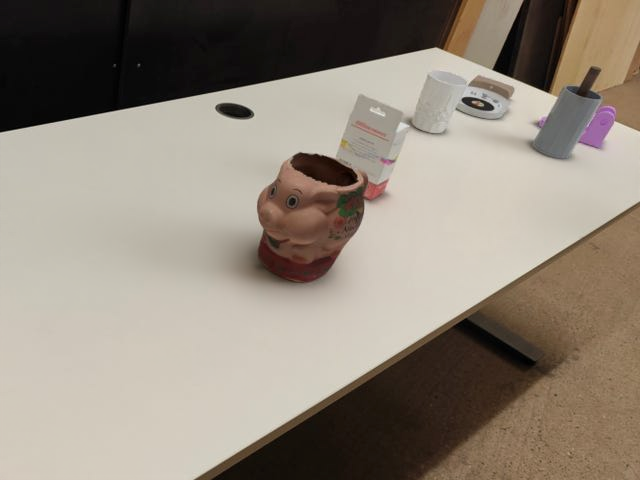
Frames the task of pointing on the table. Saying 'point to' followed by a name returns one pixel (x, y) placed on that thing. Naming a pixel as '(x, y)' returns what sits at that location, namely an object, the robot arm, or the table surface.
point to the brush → (588, 81)
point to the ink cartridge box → (373, 142)
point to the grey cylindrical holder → (566, 122)
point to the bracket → (596, 126)
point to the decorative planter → (309, 215)
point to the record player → (486, 98)
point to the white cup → (438, 100)
